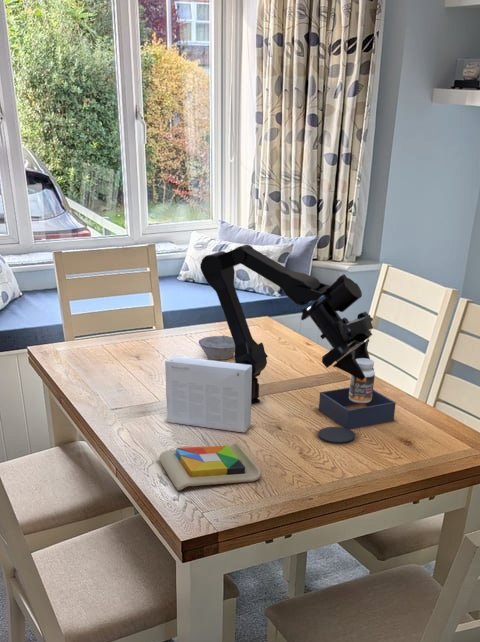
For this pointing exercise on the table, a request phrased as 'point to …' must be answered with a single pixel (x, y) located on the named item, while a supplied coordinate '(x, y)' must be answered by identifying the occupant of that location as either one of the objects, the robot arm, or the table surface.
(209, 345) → the bowl
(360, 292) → the robot arm
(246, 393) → the skincare box
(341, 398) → the open box
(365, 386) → the pill bottle
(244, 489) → the table surface
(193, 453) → the wooden puzzle
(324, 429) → the coaster
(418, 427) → the table surface
